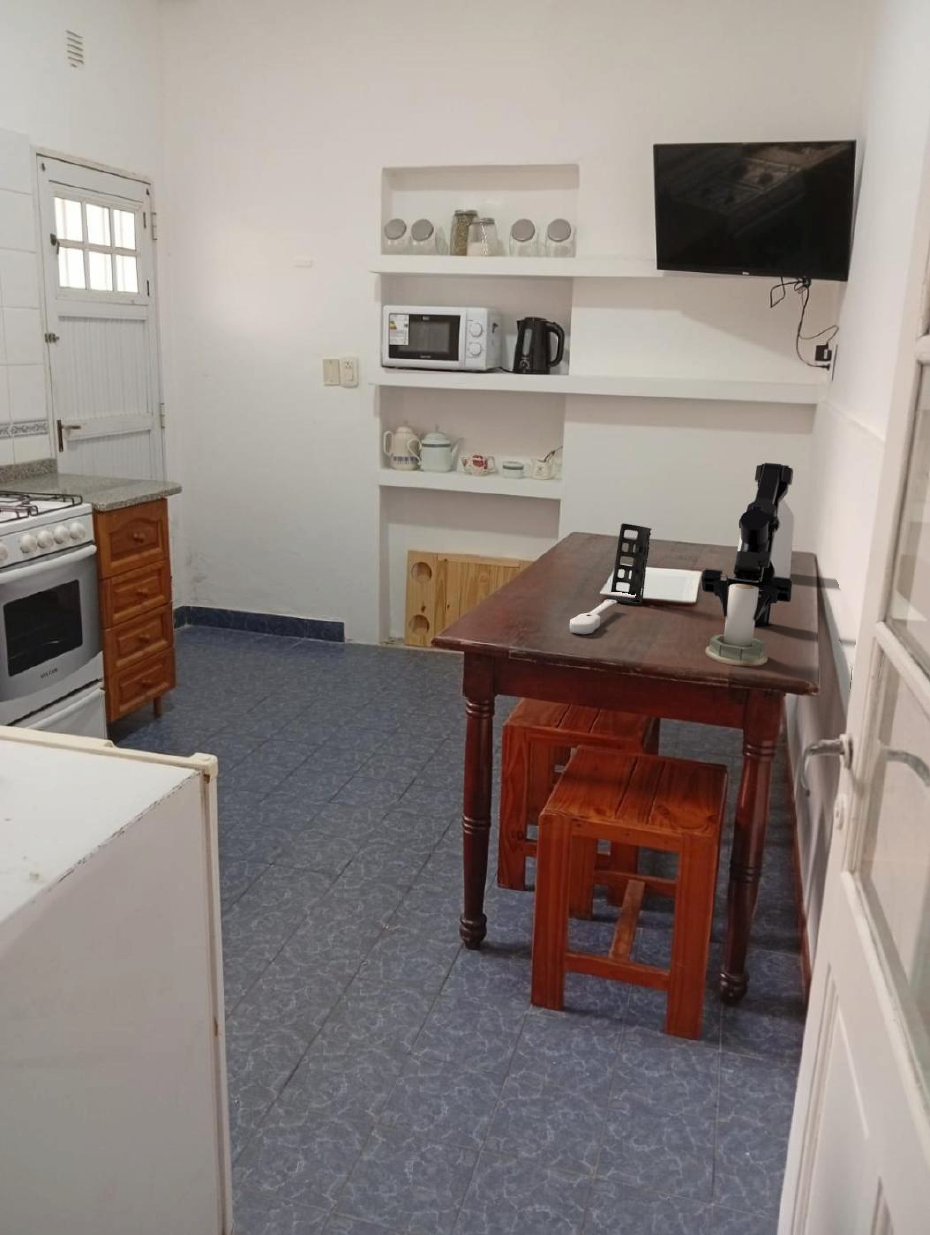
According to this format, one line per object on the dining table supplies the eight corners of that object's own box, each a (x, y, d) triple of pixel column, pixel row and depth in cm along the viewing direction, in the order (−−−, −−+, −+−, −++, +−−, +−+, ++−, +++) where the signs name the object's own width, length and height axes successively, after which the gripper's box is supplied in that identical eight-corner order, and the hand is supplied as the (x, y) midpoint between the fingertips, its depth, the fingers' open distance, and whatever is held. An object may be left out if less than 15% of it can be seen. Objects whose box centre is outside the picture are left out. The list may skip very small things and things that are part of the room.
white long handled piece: (600, 609, 250) (601, 598, 250) (622, 612, 248) (623, 601, 247) (564, 633, 226) (565, 621, 225) (588, 637, 223) (589, 625, 223)
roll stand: (746, 647, 221) (748, 632, 220) (779, 664, 209) (781, 648, 208) (694, 649, 218) (695, 634, 217) (724, 667, 206) (726, 651, 205)
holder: (600, 598, 261) (612, 522, 257) (616, 596, 266) (628, 523, 262) (636, 606, 253) (648, 529, 250) (652, 605, 259) (664, 529, 255)
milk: (766, 570, 309) (777, 487, 302) (789, 578, 298) (800, 492, 292) (733, 571, 305) (743, 487, 299) (755, 579, 295) (766, 492, 288)
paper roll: (733, 640, 217) (740, 582, 214) (757, 647, 213) (764, 587, 209) (717, 644, 213) (723, 585, 210) (741, 651, 209) (748, 590, 205)
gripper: (707, 531, 214) (693, 591, 207) (797, 540, 207) (786, 603, 200) (709, 561, 223) (696, 619, 216) (796, 571, 216) (785, 631, 209)
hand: (739, 617), depth 210 cm, fingers closed on paper roll, 6 cm apart
